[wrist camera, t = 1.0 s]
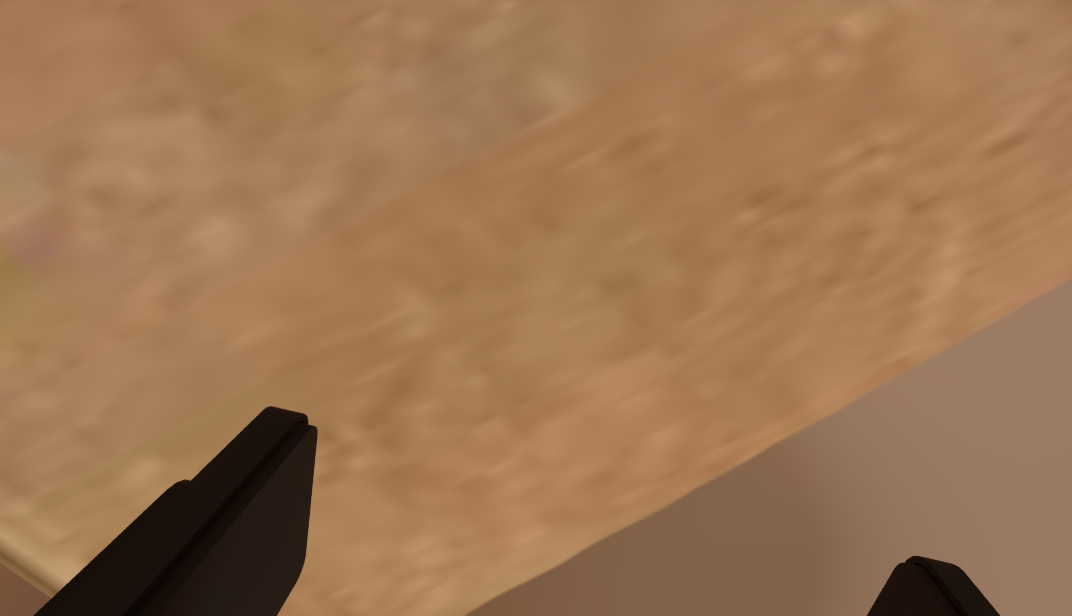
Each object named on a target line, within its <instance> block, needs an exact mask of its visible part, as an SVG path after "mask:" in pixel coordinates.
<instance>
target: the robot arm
mask: <svg viewBox="0 0 1072 616" xmlns="http://www.w3.org/2000/svg"><path fill="white" fill-rule="evenodd" d="M316 444H317V427H315V426H312V425H308V418H307V416H306V415H305V414H303V413H298V412H294V411H290V410H285V409H281V408H277V407H272V406H270V407H267V408H265V409H264V410H263V411H262V412H261V413H260V414H259V415H258V416H257V417H256V418H255V419H254V420H253V421H251V422H250V423H249V424H248V425H247V426H246V427H245V428H244V429H243V430H242V431H241V432H240V433H239V434H238V435H237V436H236V437H235V438H234V439H233V440H232V441H231V442H230V443H229V444H228V445H227V446H226V447H225V448H224V449H223V450H222V451H221V452H220V453H219V454H218V455H217V456H216V457H215V458H214V459H213V460H212V461H211V462H210V463H208V464H207V465H206V466H205V467H204V468H203V469H202V470H201V471H200V472H199V473H198V474H197V475H196V476H195V477H194V478H193V479H192V480H191V481H189V480H182V481H179V482H177V483H175V484H174V485H173V486H171V487H170V488H169V489H167V490H166V491H165V492H164V493H163V494H162V495H161V496H160V497H159V498H158V499H157V500H156V501H155V502H153V503H152V504H151V505H150V506H149V507H148V508H147V509H146V510H145V511H144V512H143V513H142V514H141V515H140V516H139V517H138V518H136V519H135V520H134V521H133V522H132V523H131V524H130V525H129V526H128V527H127V528H126V529H125V530H124V531H123V532H122V533H121V534H120V535H118V536H117V537H116V538H115V539H114V540H113V541H112V542H111V543H110V544H109V545H108V546H107V547H106V548H105V549H104V550H103V551H101V552H100V553H99V554H98V555H97V556H96V557H95V558H94V559H93V560H92V561H91V562H90V563H89V564H88V565H87V566H86V567H84V568H83V569H82V570H81V571H80V572H79V573H78V574H77V575H76V576H75V577H74V578H73V579H72V580H71V581H70V582H69V583H68V584H66V585H65V586H64V587H63V588H62V589H61V590H60V591H59V592H58V593H57V594H56V595H55V596H54V597H53V598H52V599H51V600H49V602H47V603H46V604H45V605H44V606H43V607H42V608H41V609H40V610H39V611H38V612H37V613H36V614H35V615H34V616H277V614H278V613H279V611H280V609H281V608H282V606H283V604H284V603H285V601H286V599H287V597H288V596H289V594H290V592H291V591H292V589H293V587H294V586H295V584H296V582H297V580H298V578H299V576H300V574H301V571H302V568H303V565H304V562H305V557H306V547H307V537H308V527H309V517H310V506H311V496H312V486H313V475H314V465H315V455H316ZM867 616H1000V615H999V614H998V612H997V611H996V610H995V609H994V608H993V606H992V605H991V604H990V603H989V601H988V600H987V599H986V598H985V597H984V595H983V594H982V593H981V592H980V590H979V589H978V588H977V587H976V586H975V584H974V583H973V582H972V581H971V579H970V578H969V577H968V576H967V575H966V574H965V572H964V571H963V570H962V569H960V568H959V567H958V566H956V565H954V564H951V563H947V562H942V561H938V560H934V559H929V558H925V557H920V556H912V557H911V558H909V559H907V560H906V562H905V563H900V564H898V565H897V566H896V567H895V569H894V570H893V572H892V574H891V575H890V577H889V579H888V580H887V582H886V584H885V586H884V587H883V589H882V591H881V592H880V594H879V596H878V597H877V599H876V601H875V603H874V604H873V606H872V608H871V610H870V611H869V613H868V615H867Z"/></svg>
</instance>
